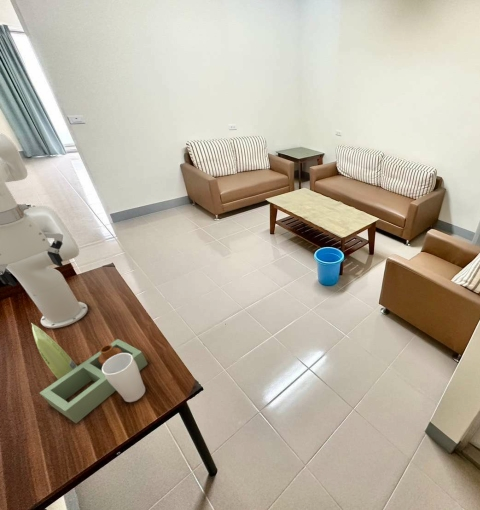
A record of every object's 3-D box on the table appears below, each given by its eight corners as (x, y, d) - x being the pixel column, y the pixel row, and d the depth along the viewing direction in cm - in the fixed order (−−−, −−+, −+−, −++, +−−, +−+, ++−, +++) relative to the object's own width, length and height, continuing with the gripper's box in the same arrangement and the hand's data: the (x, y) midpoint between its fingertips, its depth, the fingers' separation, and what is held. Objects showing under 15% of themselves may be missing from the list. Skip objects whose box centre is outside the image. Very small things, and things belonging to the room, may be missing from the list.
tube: (50, 380, 80) (13, 337, 69) (63, 365, 84) (31, 322, 73) (70, 380, 80) (37, 337, 70) (83, 365, 85) (53, 323, 74)
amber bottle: (104, 374, 83) (89, 352, 77) (122, 360, 87) (109, 338, 81) (116, 381, 82) (102, 359, 76) (133, 367, 86) (122, 345, 80)
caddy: (51, 405, 74) (39, 392, 71) (124, 351, 90) (117, 338, 87) (76, 423, 71) (65, 411, 68) (147, 364, 87) (141, 351, 84)
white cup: (128, 410, 75) (108, 379, 67) (116, 396, 78) (96, 365, 70) (153, 391, 80) (138, 360, 72) (141, 379, 83) (125, 348, 75)
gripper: (36, 200, 70) (66, 254, 79) (-70, 225, 56) (-19, 287, 66) (54, 207, 68) (82, 262, 77) (-51, 235, 54) (-1, 298, 63)
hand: (36, 273), depth 71 cm, fingers open, 9 cm apart
